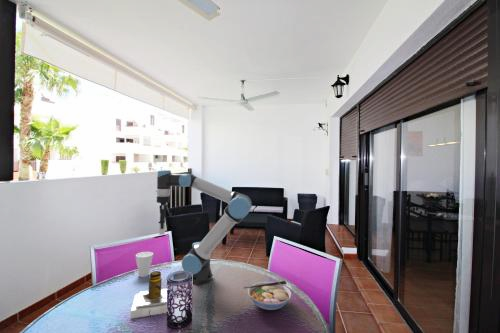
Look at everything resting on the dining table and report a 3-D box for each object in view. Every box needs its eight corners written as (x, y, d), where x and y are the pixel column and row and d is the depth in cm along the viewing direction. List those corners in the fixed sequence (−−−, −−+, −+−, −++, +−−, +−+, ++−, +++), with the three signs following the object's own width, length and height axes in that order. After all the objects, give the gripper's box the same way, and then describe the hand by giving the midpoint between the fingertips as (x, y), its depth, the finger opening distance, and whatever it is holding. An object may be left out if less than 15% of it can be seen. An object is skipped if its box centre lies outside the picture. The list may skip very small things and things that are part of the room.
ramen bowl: (252, 322, 113) (252, 304, 113) (240, 297, 135) (241, 282, 135) (300, 315, 120) (301, 298, 120) (282, 292, 142) (282, 278, 142)
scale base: (171, 296, 134) (171, 288, 134) (171, 313, 118) (171, 305, 118) (135, 300, 128) (135, 293, 129) (130, 319, 112) (130, 310, 113)
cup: (149, 270, 167) (149, 250, 167) (154, 275, 159) (155, 254, 159) (132, 274, 160) (133, 253, 160) (138, 280, 152) (138, 258, 152)
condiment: (163, 297, 123) (163, 274, 123) (145, 302, 118) (146, 277, 118) (159, 291, 129) (160, 268, 129) (142, 295, 124) (143, 272, 125)
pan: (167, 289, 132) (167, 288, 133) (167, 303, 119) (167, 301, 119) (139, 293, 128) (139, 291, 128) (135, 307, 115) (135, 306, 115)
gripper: (157, 193, 156) (156, 226, 156) (155, 198, 132) (154, 237, 132) (170, 193, 158) (169, 226, 158) (169, 198, 135) (168, 236, 134)
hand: (162, 231), depth 145 cm, fingers open, 13 cm apart
